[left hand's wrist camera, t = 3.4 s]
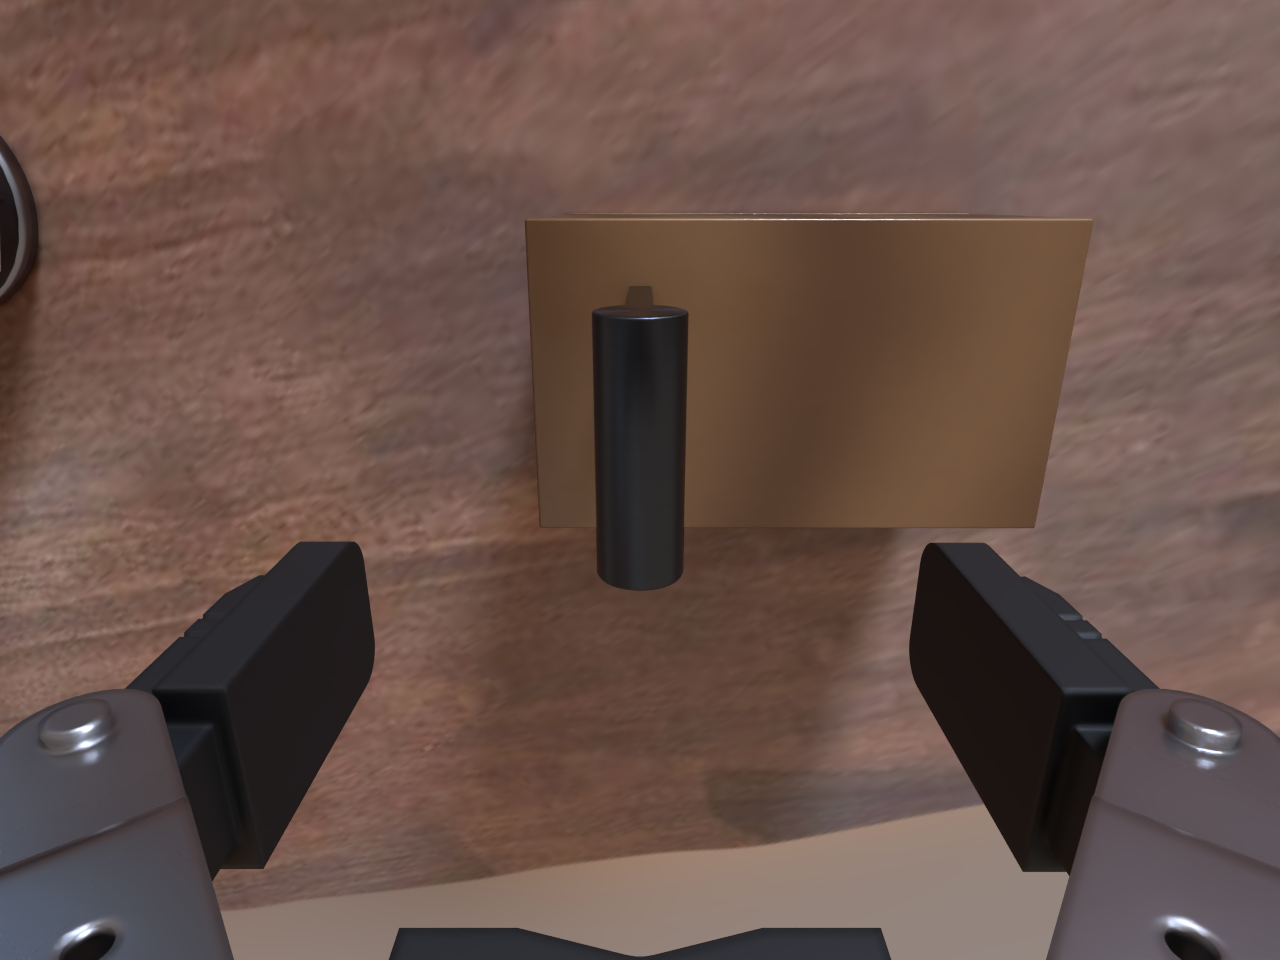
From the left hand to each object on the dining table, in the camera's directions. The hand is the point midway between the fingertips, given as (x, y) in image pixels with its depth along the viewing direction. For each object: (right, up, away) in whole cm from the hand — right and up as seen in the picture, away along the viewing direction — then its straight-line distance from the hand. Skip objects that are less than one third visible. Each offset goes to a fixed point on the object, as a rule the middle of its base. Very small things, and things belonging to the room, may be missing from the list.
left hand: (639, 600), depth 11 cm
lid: (+5, +5, +14) cm, 16 cm away
